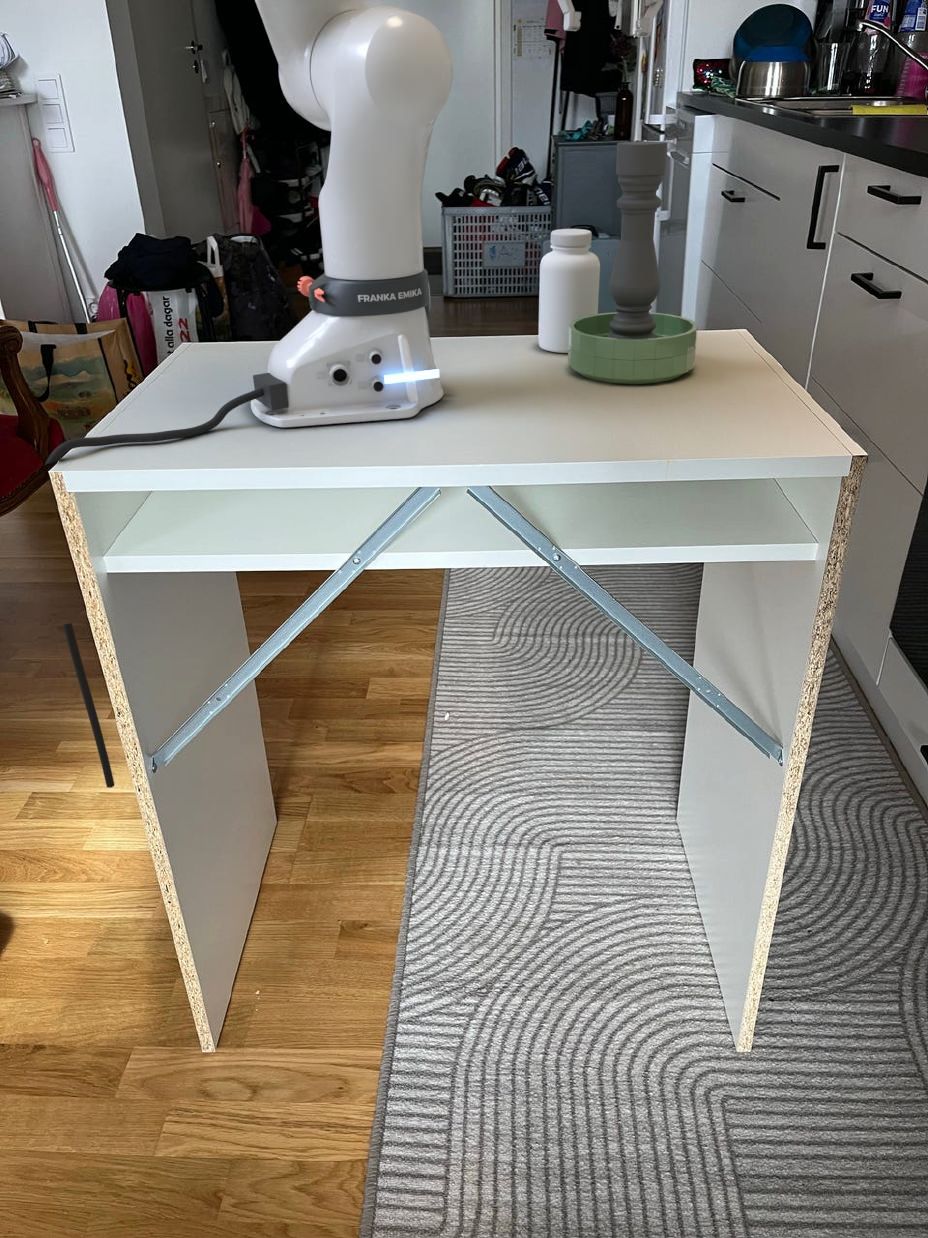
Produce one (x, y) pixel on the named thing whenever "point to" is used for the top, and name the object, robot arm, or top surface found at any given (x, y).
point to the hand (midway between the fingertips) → (607, 33)
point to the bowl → (632, 350)
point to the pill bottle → (566, 286)
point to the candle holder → (637, 238)
